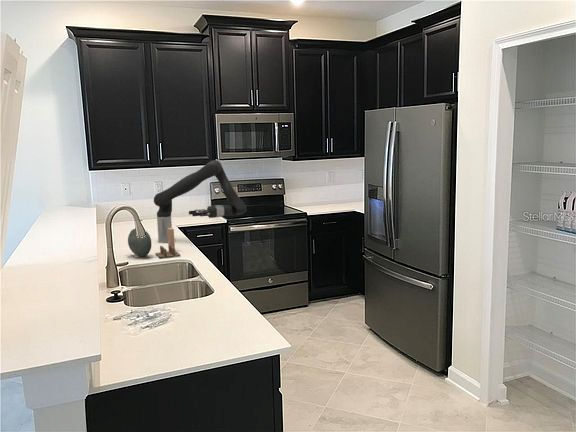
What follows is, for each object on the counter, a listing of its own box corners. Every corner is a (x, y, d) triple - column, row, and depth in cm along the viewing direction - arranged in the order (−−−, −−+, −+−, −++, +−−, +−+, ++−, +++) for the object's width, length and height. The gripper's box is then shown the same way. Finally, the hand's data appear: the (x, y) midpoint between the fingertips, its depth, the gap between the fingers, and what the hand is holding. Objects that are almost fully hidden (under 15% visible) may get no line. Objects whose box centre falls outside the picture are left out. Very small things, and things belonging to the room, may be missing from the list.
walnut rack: (155, 254, 289) (154, 246, 288) (175, 252, 294) (174, 244, 294) (159, 258, 279) (159, 250, 278) (180, 256, 284) (180, 248, 283)
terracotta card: (168, 250, 300) (167, 227, 298) (172, 249, 302) (171, 227, 299) (170, 252, 295) (169, 229, 293) (174, 251, 296) (173, 229, 294)
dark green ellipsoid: (146, 252, 295) (144, 216, 291) (154, 258, 281) (152, 220, 277) (126, 255, 289) (124, 218, 285) (134, 260, 275) (131, 222, 271)
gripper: (212, 204, 313) (187, 206, 306) (219, 206, 301) (193, 209, 294) (212, 215, 315) (187, 218, 307) (219, 218, 302) (194, 221, 295)
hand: (190, 213), depth 301 cm, fingers open, 8 cm apart
